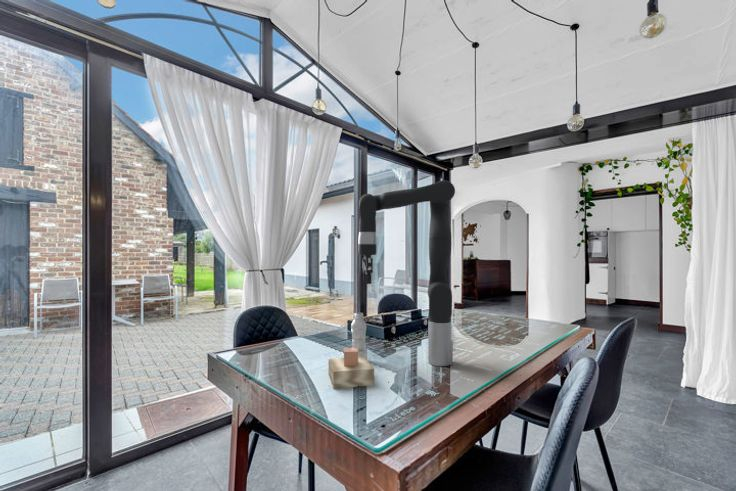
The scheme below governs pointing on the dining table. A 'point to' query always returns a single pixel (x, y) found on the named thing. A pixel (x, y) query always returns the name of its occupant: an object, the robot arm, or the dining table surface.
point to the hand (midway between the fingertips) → (367, 282)
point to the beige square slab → (350, 373)
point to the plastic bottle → (359, 334)
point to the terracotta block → (350, 356)
